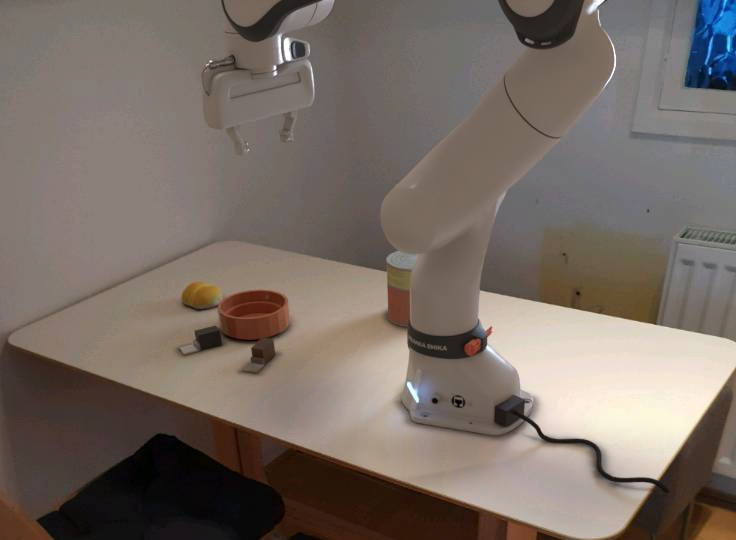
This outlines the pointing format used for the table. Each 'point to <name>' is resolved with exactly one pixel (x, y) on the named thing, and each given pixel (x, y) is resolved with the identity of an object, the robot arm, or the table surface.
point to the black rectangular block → (203, 340)
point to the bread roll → (202, 295)
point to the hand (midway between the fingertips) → (265, 147)
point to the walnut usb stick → (260, 355)
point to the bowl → (254, 314)
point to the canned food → (399, 286)
